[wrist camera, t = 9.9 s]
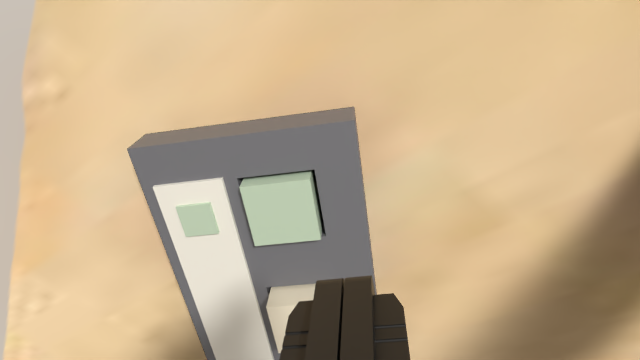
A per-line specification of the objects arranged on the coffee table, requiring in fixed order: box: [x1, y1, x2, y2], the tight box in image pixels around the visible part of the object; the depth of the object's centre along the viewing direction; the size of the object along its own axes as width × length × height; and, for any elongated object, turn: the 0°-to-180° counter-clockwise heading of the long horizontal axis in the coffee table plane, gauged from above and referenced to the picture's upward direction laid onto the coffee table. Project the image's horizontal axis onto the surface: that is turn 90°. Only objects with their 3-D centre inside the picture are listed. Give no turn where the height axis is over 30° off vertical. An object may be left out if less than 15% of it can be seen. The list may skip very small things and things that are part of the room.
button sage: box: [239, 170, 323, 246], centre depth 31 cm, size 5×5×4 cm
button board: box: [127, 107, 377, 360], centre depth 36 cm, size 16×32×4 cm, turn 9°
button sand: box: [266, 283, 316, 353], centre depth 35 cm, size 5×5×4 cm
